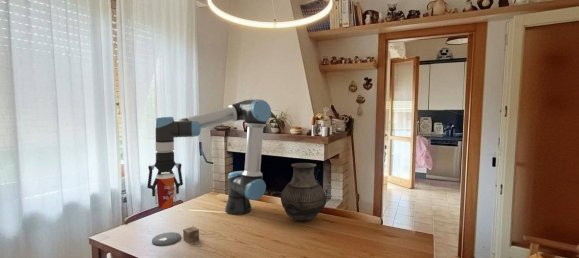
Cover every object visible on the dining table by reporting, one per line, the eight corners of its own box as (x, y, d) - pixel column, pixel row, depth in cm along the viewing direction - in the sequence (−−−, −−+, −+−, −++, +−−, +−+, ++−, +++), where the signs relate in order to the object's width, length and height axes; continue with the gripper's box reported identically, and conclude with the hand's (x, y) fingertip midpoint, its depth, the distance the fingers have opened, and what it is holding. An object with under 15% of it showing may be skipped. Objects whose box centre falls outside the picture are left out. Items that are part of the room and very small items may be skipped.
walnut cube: (193, 236, 135) (193, 226, 134) (199, 240, 131) (198, 229, 131) (183, 240, 131) (183, 229, 131) (188, 243, 128) (188, 232, 127)
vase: (320, 231, 141) (321, 170, 140) (273, 224, 149) (273, 167, 147) (329, 214, 165) (330, 162, 163) (288, 209, 173) (289, 159, 171)
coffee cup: (168, 210, 125) (168, 176, 124) (151, 208, 127) (151, 175, 126) (179, 204, 134) (179, 172, 133) (163, 203, 135) (163, 171, 134)
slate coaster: (179, 232, 139) (179, 230, 139) (182, 242, 128) (182, 240, 128) (151, 236, 134) (151, 235, 134) (152, 247, 123) (152, 246, 123)
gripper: (187, 149, 136) (188, 197, 138) (139, 151, 128) (140, 202, 129) (189, 151, 130) (190, 201, 131) (139, 153, 121) (140, 207, 122)
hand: (165, 201), depth 130 cm, fingers closed on coffee cup, 7 cm apart
